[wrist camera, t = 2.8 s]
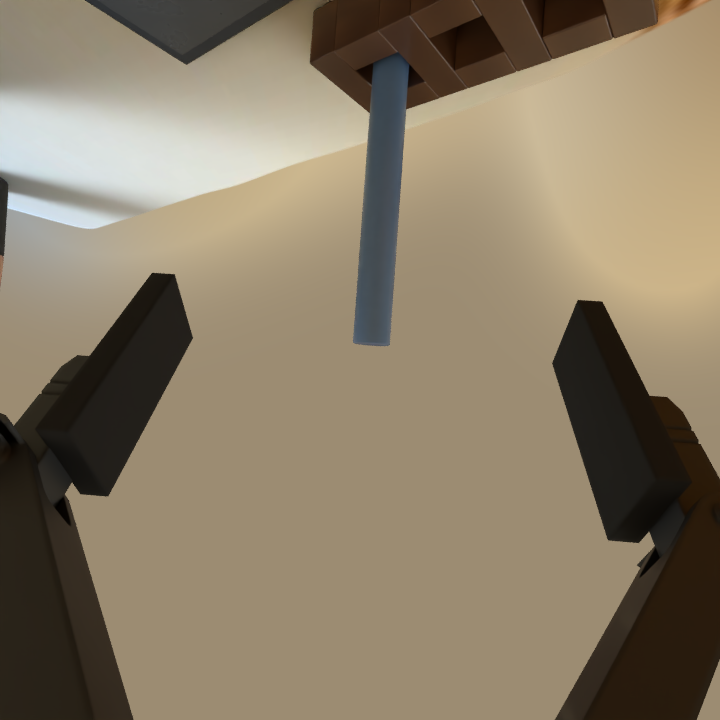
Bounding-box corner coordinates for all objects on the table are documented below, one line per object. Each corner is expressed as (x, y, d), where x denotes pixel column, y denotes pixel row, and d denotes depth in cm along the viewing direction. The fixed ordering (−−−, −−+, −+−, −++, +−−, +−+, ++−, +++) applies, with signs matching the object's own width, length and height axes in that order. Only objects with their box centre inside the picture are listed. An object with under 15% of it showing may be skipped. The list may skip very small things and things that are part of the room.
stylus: (389, 42, 28) (367, 345, 27) (369, 20, 26) (345, 342, 26) (418, 28, 27) (396, 346, 26) (399, 4, 25) (375, 342, 24)
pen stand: (380, 74, 31) (376, 119, 31) (313, 10, 26) (308, 63, 26) (661, -40, 22) (657, 24, 21) (642, -177, 16) (638, -94, 16)
